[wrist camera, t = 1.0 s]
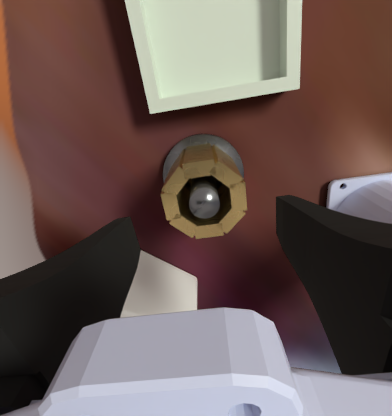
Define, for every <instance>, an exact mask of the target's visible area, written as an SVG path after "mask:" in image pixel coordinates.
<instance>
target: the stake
mask: <svg viewBox="0 0 392 416" xmlns="http://www.w3.org/2000/svg"><path fill="white" fill-rule="evenodd" d="M207 143H210V144H211V147H212V145H213V144H214V145H216V146H217V147H218V148H220V149H221V150H222V151H224V152H225V153H226V154H228V155H229V156H230V157H231V158H232V159H233V161H234V162H235V164H236V166H237V168H238V170H239V172H240V174H241V176H242V177H244V170H243V164H242V161H241V158H240V156H239V154H238V153H237V151H236V150H235V149H234V147H233V146H232V145H231V144H230V143H229V142H227V141H226V140H224V139H223V138H221V137H218V136H215V135H211V134H196V135H191V136H189V137H186V138H184V139H183V140H181V141H180V142H178V143H177V144H176V145H175V146H174V147H173V148H172V150H171V151H170V153H169V154H168V156H167V158H166V161H165V163H164V168H163V180H164V182H165V180H166V178H167V175H168V173H169V170H170V168H171V166H172V165H173V163H174V162H175V160H176V159H177V158H178V156H179V155H180V153H181V152H182V150H183V149H185V150H186V147H188V146H195V145H201V144H207ZM222 184H223V183H222V182H221V181H219V180H218V179H216V178H215V177H214V176H212V175H210V176H203V177H197V178H190V179H188V181H187V182H186V183H185V185H184V186H185V188H187V189H188V190H190V200H189V208H190V210H191V212H192V213H193V214H194V215H195V216H196V217H199V218H210V217H212V216H214V215H215V214H216V213H217V212H218V210H219V207H220V202H219V196H218V191H217V190H218V188H219V187H220V186H221V185H222Z"/></svg>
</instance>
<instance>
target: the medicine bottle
mask: <svg viewBox="0 0 392 416" xmlns="http://www.w3.org/2000/svg"><path fill="white" fill-rule="evenodd" d="M191 310H197V278H196V277H195V276H193V275H191V274H189V273H187V272H185V271H183V270H181V269H179V268H177V267H175V266H173V265H171V264H169V263H166V262H164V261H162V260H160V259H158V258H156V257H154V256H152V255H150V254H148V253H146V252H144V251H142V250H141V251H140V257H139V262H138V267H137V270H136V273H135V276H134V279H133V281H132V284H131V287H130V290H129V292H128V295H127V298H126V301H125V303H124V306H123V310H122V313H121V316H120V318H123V317H133V316H143V315H153V314H162V313H172V312H182V311H191Z"/></svg>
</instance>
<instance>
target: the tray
mask: <svg viewBox="0 0 392 416" xmlns="http://www.w3.org/2000/svg"><path fill="white" fill-rule="evenodd" d="M125 4H126V8H127V13H128V17H129V22H130V26H131V31H132V35H133V40H134V44H135V49H136V53H137V58H138V62H139V67H140V71H141V76H142V80H143V85H144V89H145V94H146V98H147V103H148V107H149V112H150V114H153V113H159V112H165V111H171V110H177V109H183V108H189V107H194V106H200V105H206V104H212V103H218V102H224V101H230V100H236V99H242V98H248V97H253V96H259V95H265V94H271V93H277V92H283V91H289V90H295V89H300V57H301V23H302V0H125Z"/></svg>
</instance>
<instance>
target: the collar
mask: <svg viewBox="0 0 392 416" xmlns="http://www.w3.org/2000/svg"><path fill="white" fill-rule="evenodd" d="M210 175H212V176H214V177H215V178H216V179H218V180H219V181H221V182H222V183H223V184H222V185H221V186H220V187H219V188H218V190H217V191H218V196H219V202H220V207H219V210H218V212H217V213H216V214H215V215H214V216H212V217H210V218H199V217H196V216H195V215H194V214H193V213H192V212H191V210H190V208H189V200H190V190H188V189H187V188H185V186H184V185H185V183H186V182H187V181H188V179H190V178H197V177H203V176H210ZM161 198H162V202H163V207H164V211H165V215H166V219H167V220H170V222H169V224H171V225H172V226H174V227H175V228H177V229H179V230H180V231H182V232H183V233H185V234H187V235H188V236H190V237H191V238H193V236H194V235H195V236H196V239H198V238H206V237H214V236H222V235H223V231H224V232H225V233H228V232H229V231H230V230H231V229H232V228H233V227H234V226H235V224H236V223H237V222H238V221H239V220H240V219H241V218H242V217H243V216H244V215H245V214H246V213H245V211H244V210H247V203H246V189H245V181H244V179H243V177H242V176H241V174H240V172H239V170H238V168H237V166H236V164H235V162H234V161H233V159H232V158H231V157H230V156H229V155H228V154H226V153H225V152H224V151H222V150H221V149H220V148H218V147H217V146H216V145H214V144H213V145H212V147H211V144H210V143H207V144H201V145H195V146H188V147H186V150H185V149H183V150H182V152H181V153H180V155H179V156H178V158H177V159H176V160H175V162H174V163H173V165H172V166H171V168H170V170H169V173H168V175H167V178H166V180H165V182H164V185H163V187H162V192H161Z"/></svg>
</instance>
